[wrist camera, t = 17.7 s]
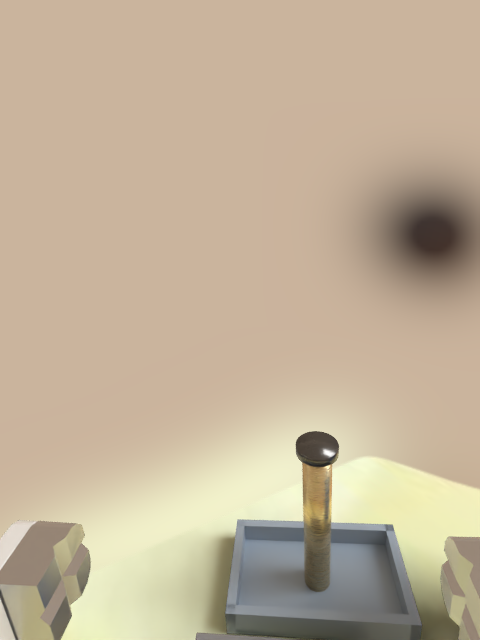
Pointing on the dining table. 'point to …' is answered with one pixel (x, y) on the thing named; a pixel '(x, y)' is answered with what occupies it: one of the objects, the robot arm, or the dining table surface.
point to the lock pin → (317, 505)
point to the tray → (330, 605)
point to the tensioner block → (233, 637)
